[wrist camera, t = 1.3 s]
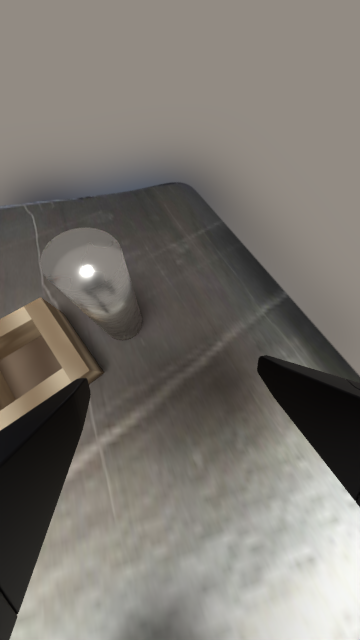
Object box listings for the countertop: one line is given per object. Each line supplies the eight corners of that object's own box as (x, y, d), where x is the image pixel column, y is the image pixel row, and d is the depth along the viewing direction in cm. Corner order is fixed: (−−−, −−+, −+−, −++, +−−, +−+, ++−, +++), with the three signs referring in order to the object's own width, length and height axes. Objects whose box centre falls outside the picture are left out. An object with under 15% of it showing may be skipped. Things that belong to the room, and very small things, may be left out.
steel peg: (118, 348, 22) (65, 305, 10) (97, 319, 23) (25, 249, 11) (149, 325, 24) (137, 263, 11) (128, 299, 25) (96, 217, 12)
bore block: (19, 436, 18) (-25, 453, 14) (-20, 361, 20) (-68, 356, 16) (104, 372, 21) (89, 370, 17) (62, 313, 23) (40, 297, 19)
